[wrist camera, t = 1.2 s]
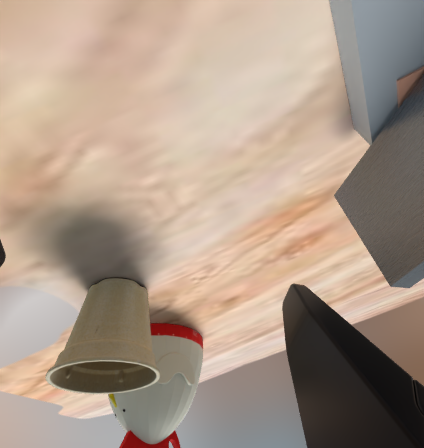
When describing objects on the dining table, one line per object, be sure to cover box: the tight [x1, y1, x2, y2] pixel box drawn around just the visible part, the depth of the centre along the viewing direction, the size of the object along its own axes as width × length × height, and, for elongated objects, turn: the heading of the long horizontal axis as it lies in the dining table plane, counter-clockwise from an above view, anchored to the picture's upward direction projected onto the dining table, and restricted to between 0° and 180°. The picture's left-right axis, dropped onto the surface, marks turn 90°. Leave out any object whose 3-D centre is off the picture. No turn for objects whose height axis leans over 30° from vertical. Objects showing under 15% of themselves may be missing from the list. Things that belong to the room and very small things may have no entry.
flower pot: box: [46, 278, 160, 394], centre depth 27 cm, size 9×9×9 cm
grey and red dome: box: [108, 323, 203, 448], centre depth 36 cm, size 14×14×15 cm
